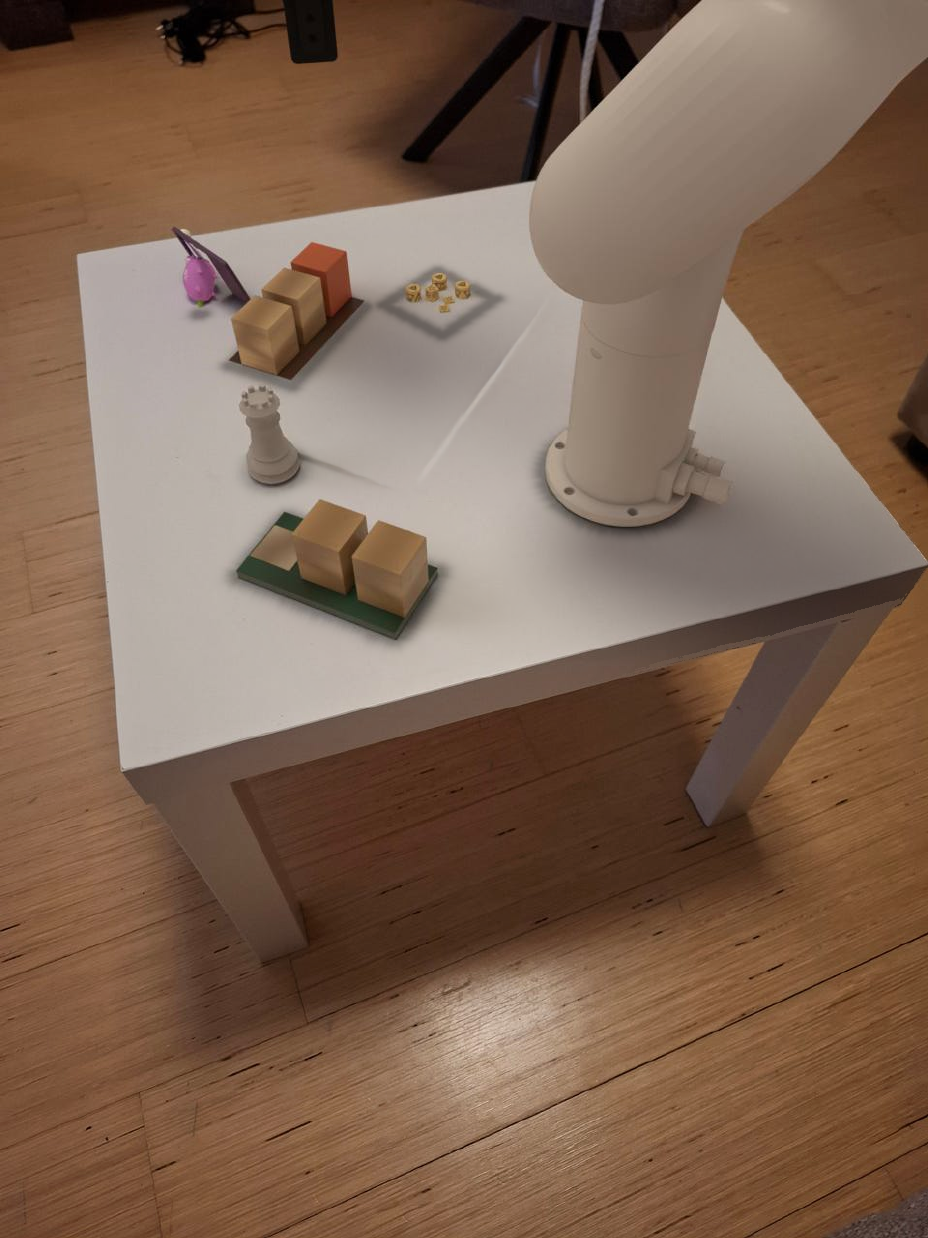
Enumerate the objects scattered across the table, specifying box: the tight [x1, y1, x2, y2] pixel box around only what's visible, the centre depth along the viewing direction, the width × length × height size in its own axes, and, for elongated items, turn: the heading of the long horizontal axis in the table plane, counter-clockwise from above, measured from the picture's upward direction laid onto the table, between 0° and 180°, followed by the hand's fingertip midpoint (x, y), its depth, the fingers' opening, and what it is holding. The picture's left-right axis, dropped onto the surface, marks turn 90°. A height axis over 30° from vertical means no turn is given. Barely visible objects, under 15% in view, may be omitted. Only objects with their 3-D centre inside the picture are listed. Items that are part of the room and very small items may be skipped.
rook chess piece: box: [238, 383, 301, 486], centre depth 75 cm, size 4×4×8 cm
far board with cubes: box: [228, 267, 365, 381], centre depth 87 cm, size 7×14×6 cm, turn 154°
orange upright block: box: [289, 241, 353, 317], centre depth 90 cm, size 4×4×5 cm
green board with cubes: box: [235, 498, 439, 640], centre depth 69 cm, size 14×7×6 cm, turn 64°
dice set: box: [405, 272, 471, 314], centre depth 92 cm, size 5×5×2 cm
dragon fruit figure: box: [171, 226, 252, 309], centre depth 91 cm, size 7×5×9 cm
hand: (309, 31), depth 65 cm, fingers open, 9 cm apart
